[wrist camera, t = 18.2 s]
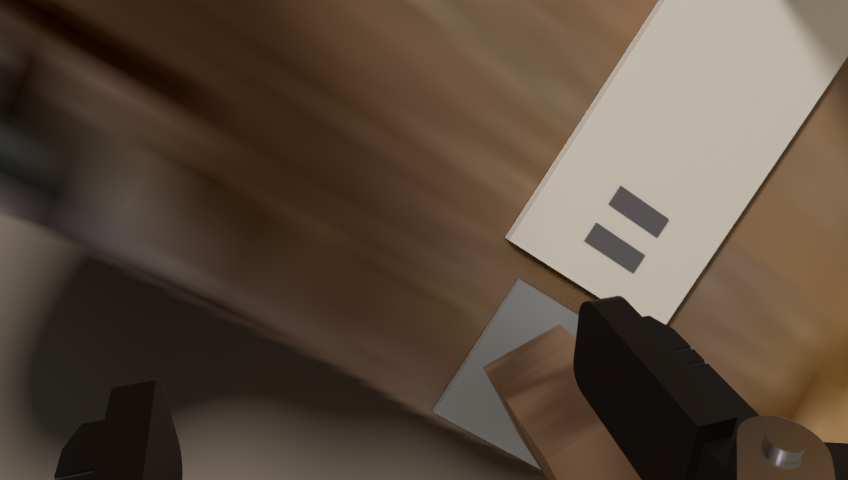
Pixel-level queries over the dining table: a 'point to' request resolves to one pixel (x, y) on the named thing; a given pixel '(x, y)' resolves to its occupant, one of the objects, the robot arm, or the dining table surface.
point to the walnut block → (556, 411)
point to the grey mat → (508, 329)
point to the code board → (680, 144)
